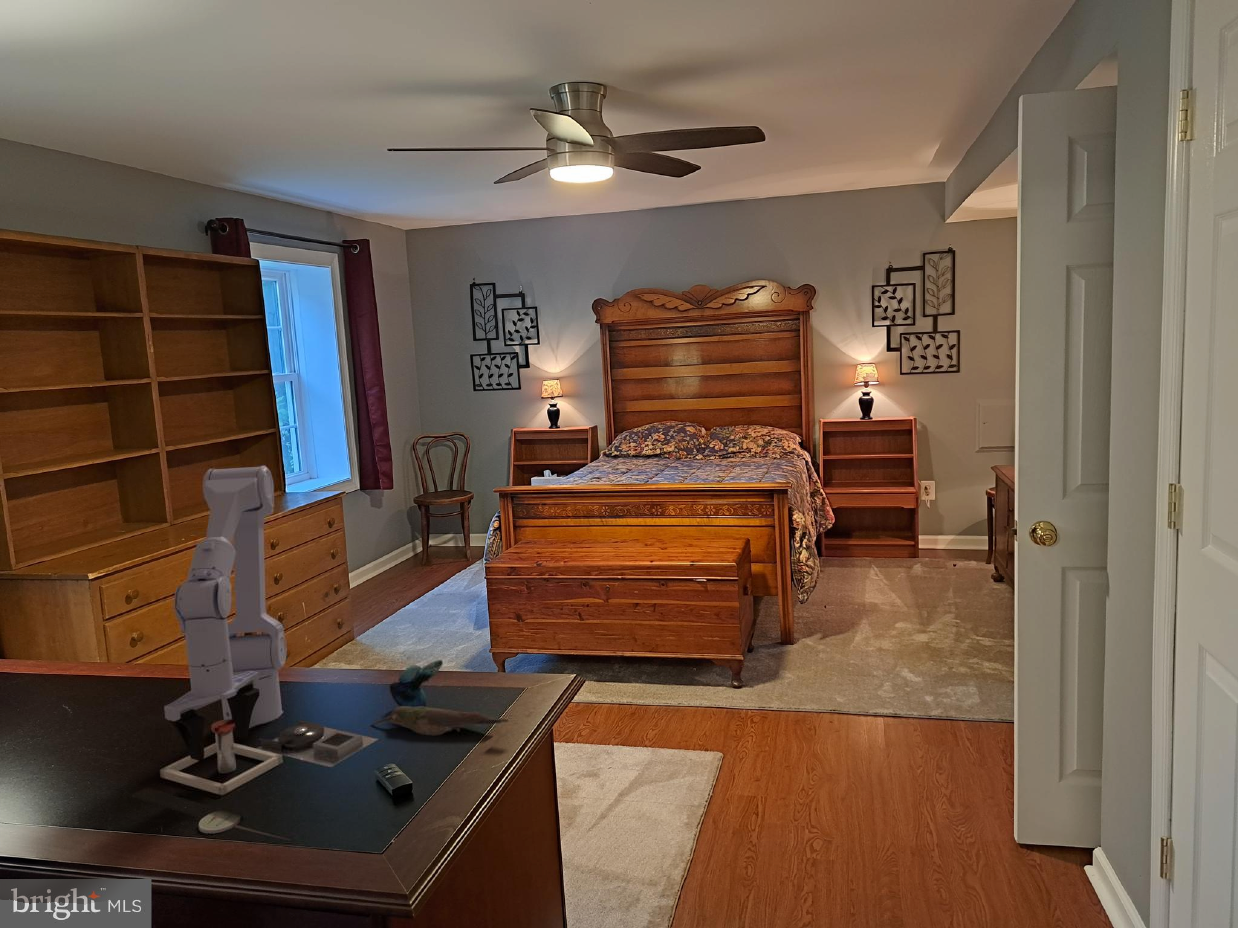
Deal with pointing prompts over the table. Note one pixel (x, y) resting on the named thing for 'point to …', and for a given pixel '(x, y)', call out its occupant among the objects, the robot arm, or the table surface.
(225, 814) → the sign
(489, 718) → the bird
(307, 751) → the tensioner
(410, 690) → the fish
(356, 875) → the table surface
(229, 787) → the tray
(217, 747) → the pin
